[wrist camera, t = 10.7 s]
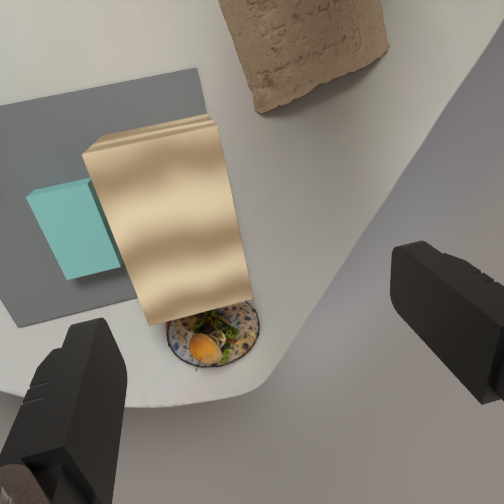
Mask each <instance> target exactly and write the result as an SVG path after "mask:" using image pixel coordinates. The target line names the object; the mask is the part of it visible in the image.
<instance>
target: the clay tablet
mask: <svg viewBox="0 0 504 504" xmlns="http://www.w3.org/2000/svg"><path fill="white" fill-rule="evenodd" d="M219 5H220V8H221V10H222V13H223V15H224V18H225V20H226V23H227V26H228V29H229V31H230V34H231V36H232V39H233V41H234V45H235V49H236V51H237V54H238V57H239V60H240V62H241V65H242V68H243V71H244V74H245V76H246V79H247V82H248V86H249V88H250V89H251V91H252V92H253V101H254V107H255V111H257V112H259V113H264V112H268V111H269V110H271V109H273V108H276V107H277V106H278V105H281V106H282V105H284V104H289V103H291V101H292V100H293V99H296V98H300V97H302V96H304V95H305V94H307V93H308V92H311V91H312V89H313V88H315V87H316V86H317V85H318V84H320V83H328V82H329V81H330V80H332V79H334V78H335V77H338V78H339V77H342V76H343V75H346V74H347V73H348V72H351V71H352V72H356V71H357V70H358V69H359V68H364V67H365V66H366V65H369V64H370V63H371V62H373V61H375V59H376V58H377V57H378V58H380V57H381V54H384V53H385V51H386V52H387V51H388V48H389V47H390V45H389V43H388V41H387V36H386V30H385V25H384V21H383V14H382V7H381V2H380V0H219Z"/></svg>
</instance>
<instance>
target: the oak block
mask: <svg viewBox="0 0 504 504" xmlns="http://www.w3.org/2000/svg"><path fill="white" fill-rule="evenodd" d="M82 157H83V160H84V162H85V165H86V167H87V170H88V172H89V175H90V177H91V180H92V183H93V185H94V188H95V190H96V193H97V195H98V198H99V200H100V203H101V205H102V208H103V210H104V213H105V215H106V218H107V220H108V223H109V226H110V228H111V231H112V233H113V236H114V238H115V241H116V243H117V246H118V248H119V251H120V253H121V256H122V258H123V261H124V264H125V266H126V269H127V271H128V274H129V276H130V279H131V281H132V284H133V286H134V289H135V291H136V294H137V296H138V299H139V301H140V304H141V307H142V309H143V312H144V314H145V317H146V319H147V322H148V324H149V326H152V325H156V324H159V323H163V322H167V321H171V320H175V319H178V318H182V317H186V316H190V315H194V314H197V313H201V312H205V311H209V310H213V309H216V308H220V307H224V306H228V305H232V304H235V303H239V302H243V301H247V300H251V299H253V295H252V290H251V285H250V280H249V275H248V271H247V266H246V261H245V256H244V251H243V246H242V242H241V237H240V232H239V227H238V222H237V218H236V213H235V208H234V203H233V198H232V193H231V189H230V184H229V179H228V174H227V169H226V165H225V160H224V155H223V150H222V145H221V140H220V136H219V131H218V126H217V125H216V124H215V123H214V121H213V120H212V119H211V118H210V117H209V116H208V114H203V115H198V116H193V117H188V118H184V119H179V120H174V121H169V122H164V123H160V124H155V125H150V126H145V127H140V128H136V129H131V130H126V131H121V132H116V133H112V134H107V135H102V136H101V137H100V138H99V139H98V140H97V141H96V142H95V143H94V144H93V145H92V146H91V147H89V148H88V149H87V150H86V151H85V152H84V153H83V154H82Z"/></svg>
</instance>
